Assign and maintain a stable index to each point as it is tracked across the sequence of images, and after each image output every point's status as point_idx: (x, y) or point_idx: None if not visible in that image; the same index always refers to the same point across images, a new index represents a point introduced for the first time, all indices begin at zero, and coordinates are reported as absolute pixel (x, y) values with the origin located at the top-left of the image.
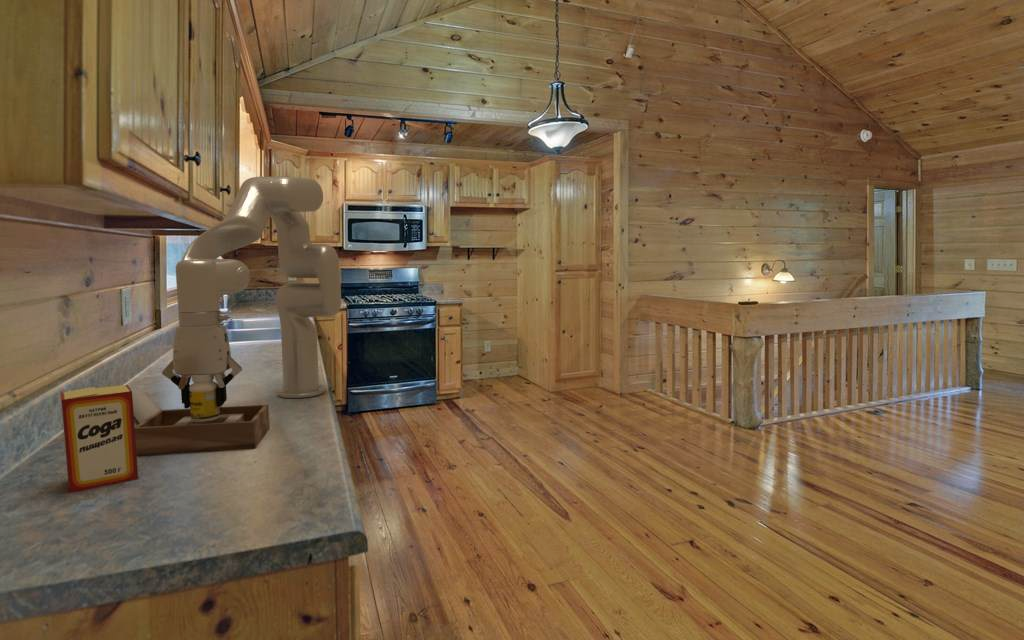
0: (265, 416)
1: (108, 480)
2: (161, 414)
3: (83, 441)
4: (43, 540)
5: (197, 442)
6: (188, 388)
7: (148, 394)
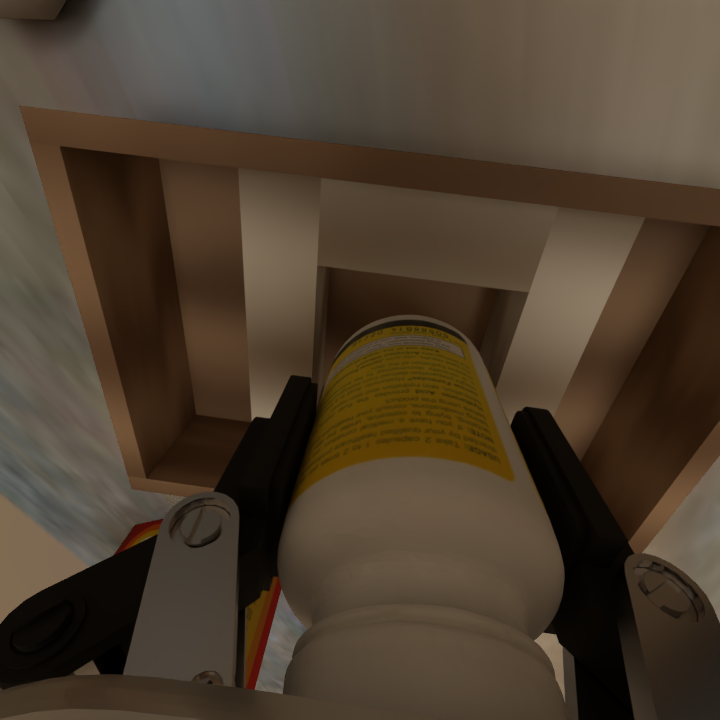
0: None
1: None
2: (85, 187)
3: None
4: (257, 679)
5: None
6: (269, 547)
7: None
